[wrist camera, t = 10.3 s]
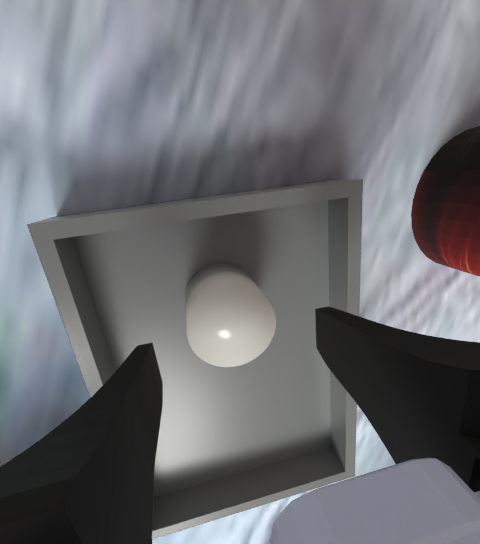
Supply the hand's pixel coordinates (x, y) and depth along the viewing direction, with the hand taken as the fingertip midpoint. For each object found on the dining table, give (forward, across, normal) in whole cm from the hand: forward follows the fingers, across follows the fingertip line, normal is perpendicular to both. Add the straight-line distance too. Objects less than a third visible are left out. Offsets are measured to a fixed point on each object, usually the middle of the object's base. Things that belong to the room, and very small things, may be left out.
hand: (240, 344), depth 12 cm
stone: (+6, 0, 0) cm, 6 cm away
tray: (+6, 0, +5) cm, 8 cm away
